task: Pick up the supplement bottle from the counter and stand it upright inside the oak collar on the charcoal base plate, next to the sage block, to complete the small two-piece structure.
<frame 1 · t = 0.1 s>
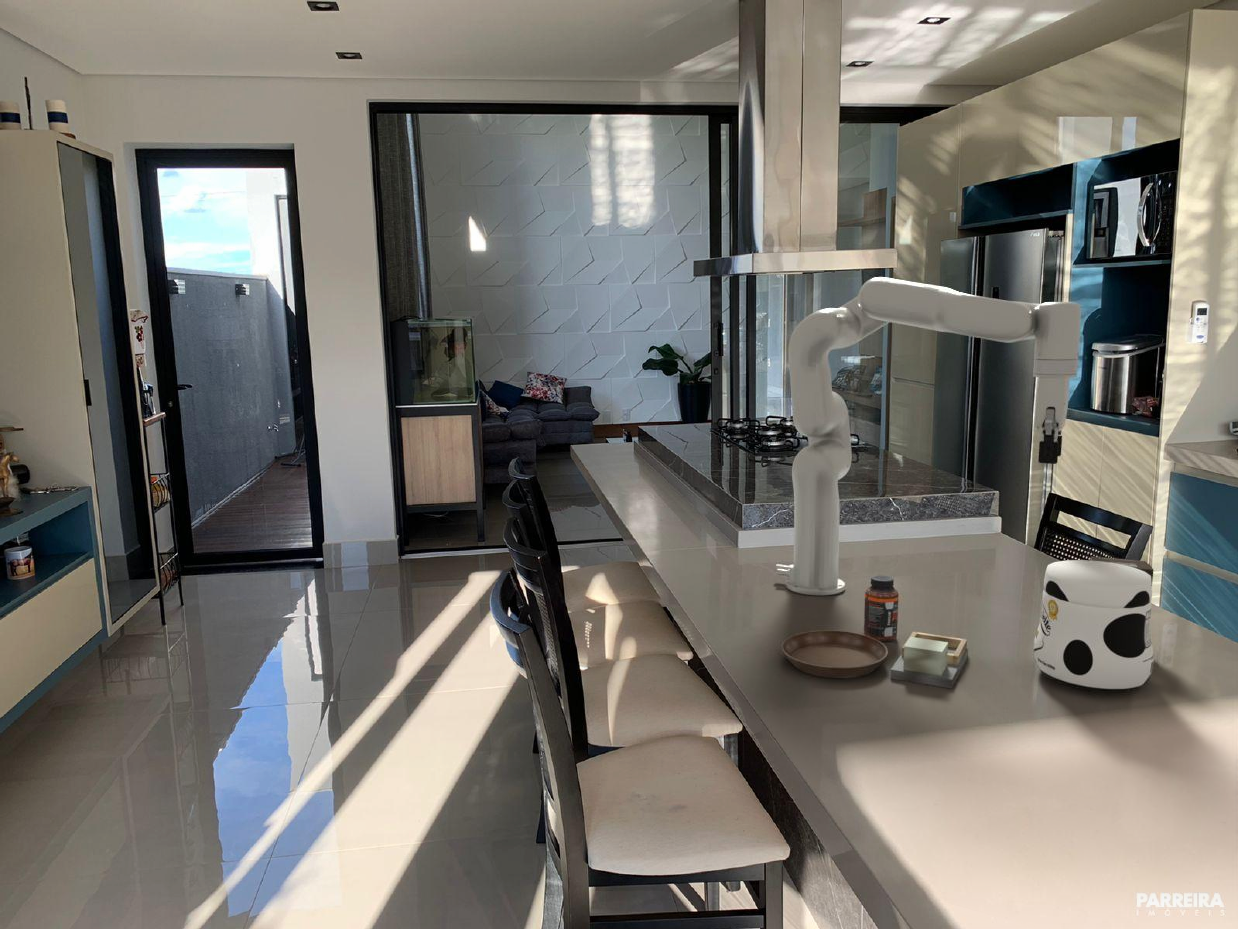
hand: (1049, 459, 179), 31 cm above the worktop, tool pointing down, fingers open, 9 cm apart
plant saucer: (833, 665, 162), on the worktop
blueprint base: (930, 666, 159), on the worktop
milk container: (1090, 680, 153), on the worktop
supplement bottle: (880, 638, 174), on the worktop
coffee box: (1113, 652, 165), on the worktop
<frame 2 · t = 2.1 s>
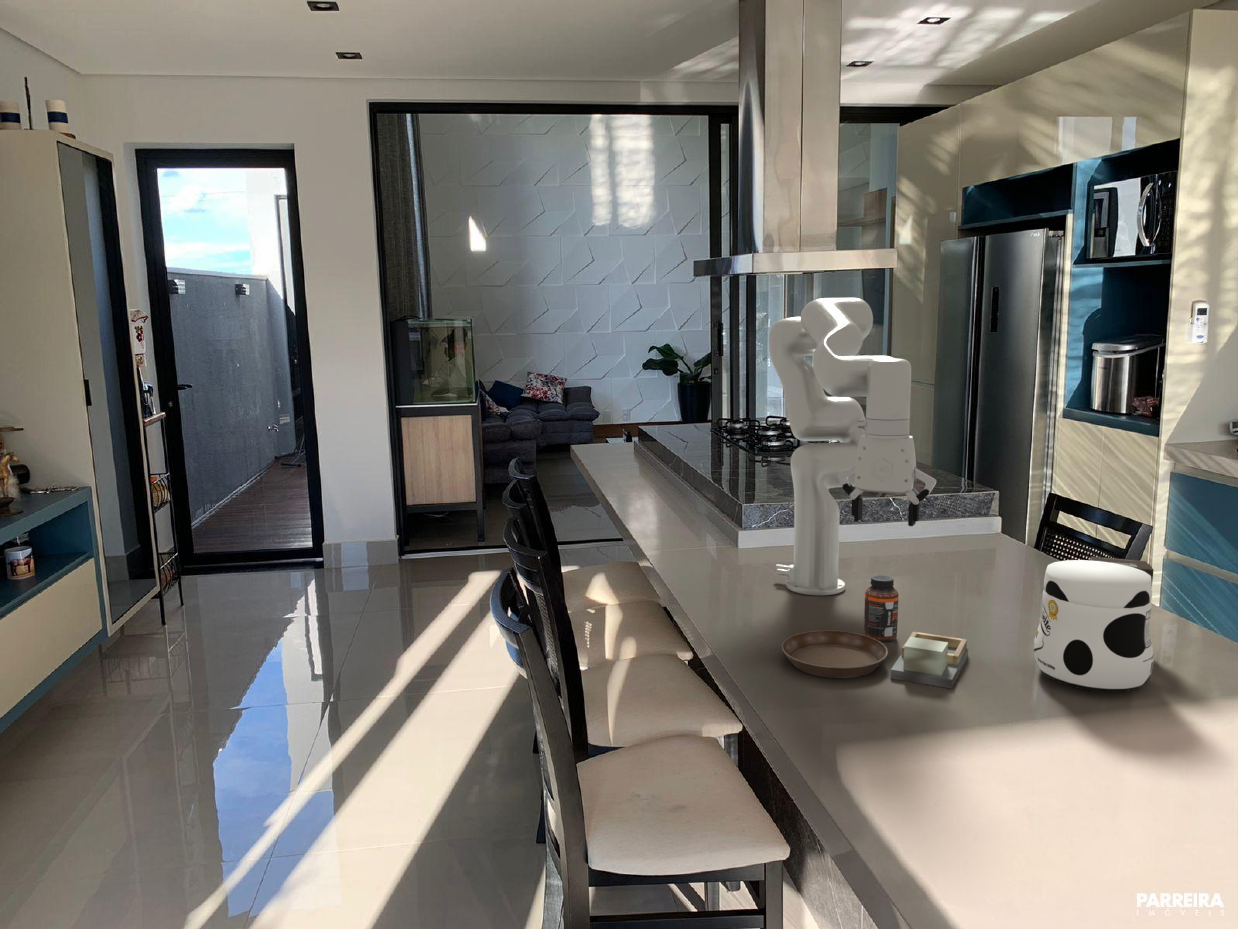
hand: (884, 522, 170), 22 cm above the worktop, tool pointing down, fingers open, 9 cm apart
nothing on the worktop moved.
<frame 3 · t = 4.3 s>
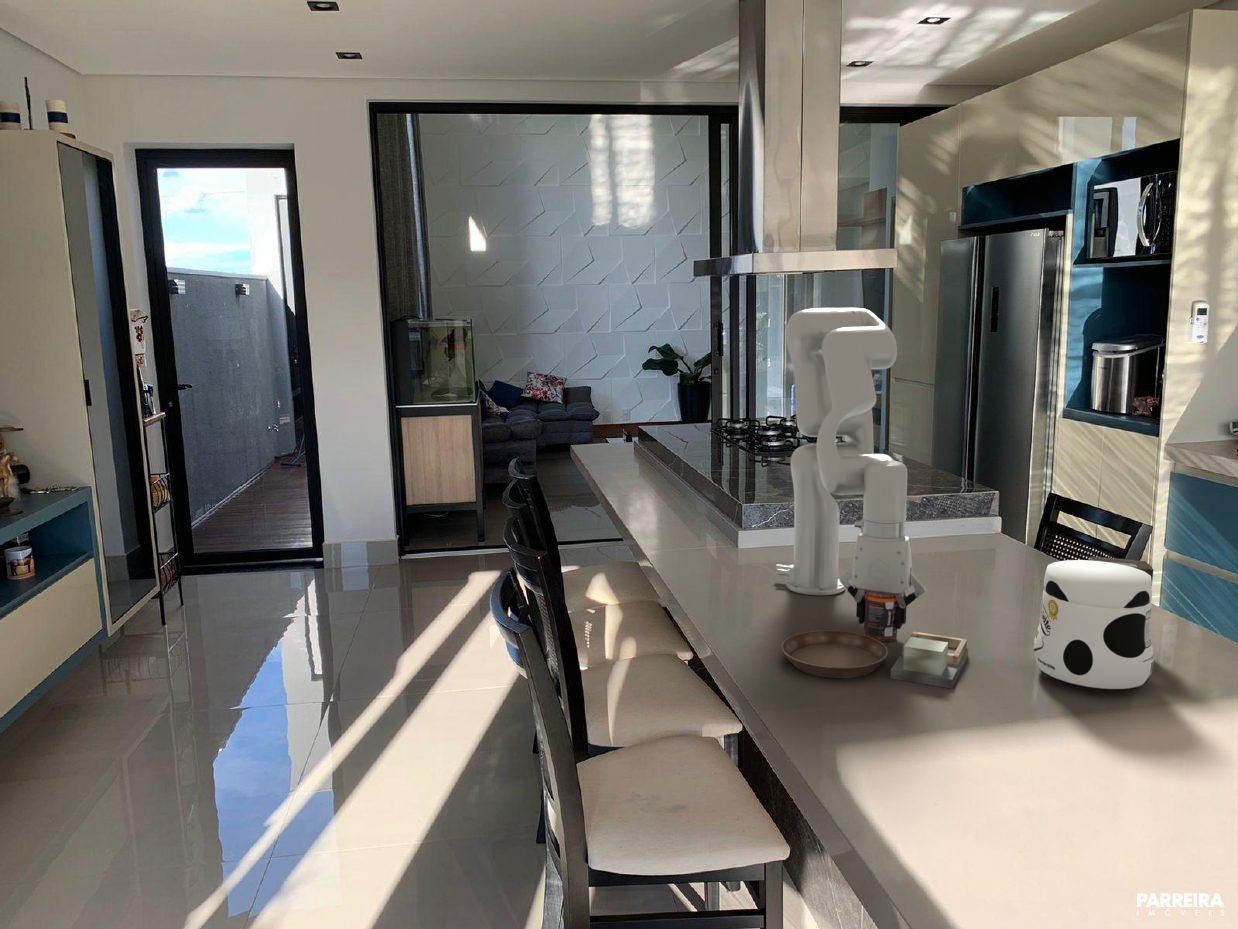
hand: (880, 623, 173), 3 cm above the worktop, tool pointing down, fingers closed on supplement bottle, 6 cm apart
supplement bottle: (880, 638, 174), on the worktop, touching gripper
everything else where it was.
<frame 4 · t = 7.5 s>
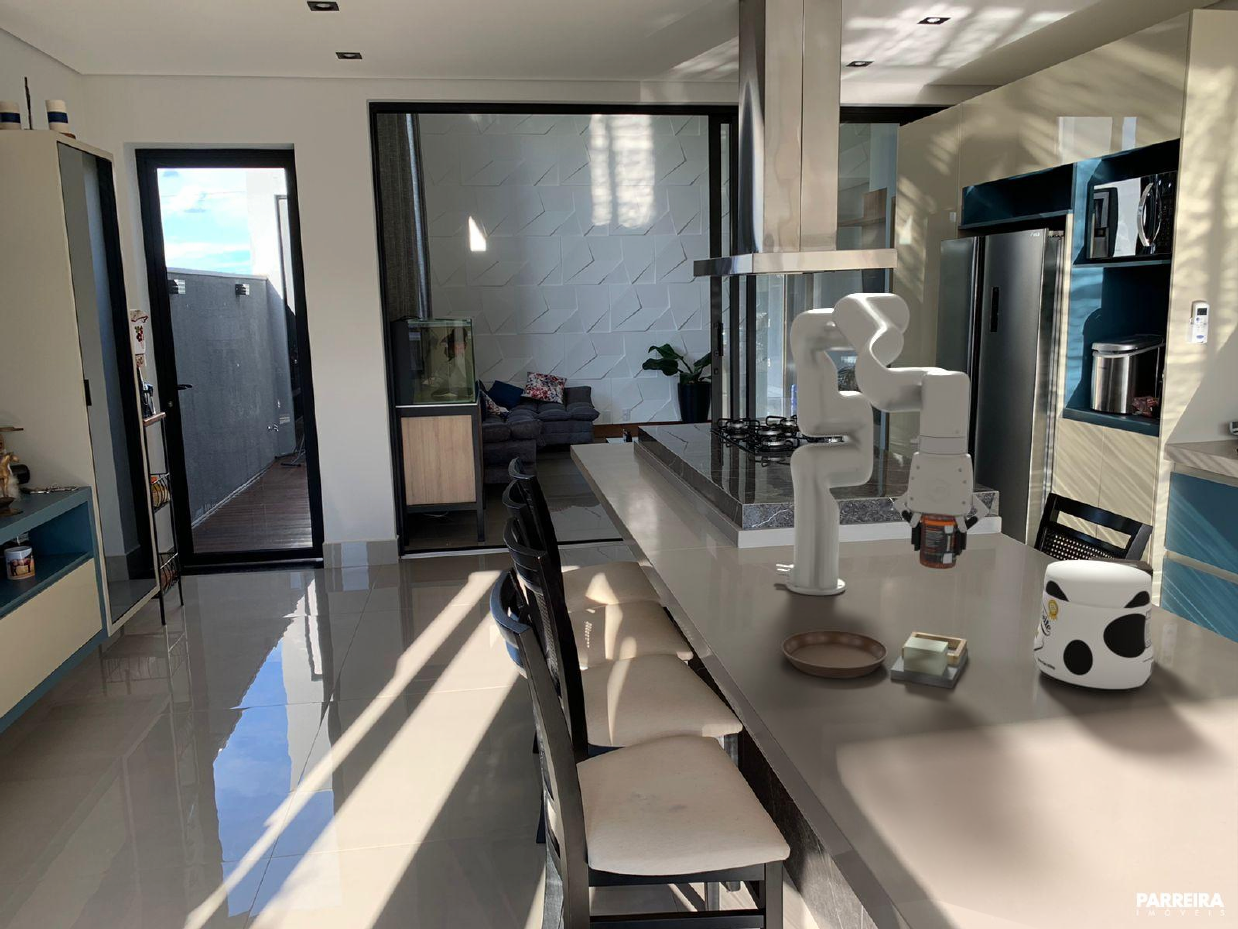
hand: (938, 550, 159), 19 cm above the worktop, tool pointing down, fingers closed on supplement bottle, 6 cm apart
supplement bottle: (937, 566, 160), point 17 cm above the worktop, touching gripper
everything else where it was.
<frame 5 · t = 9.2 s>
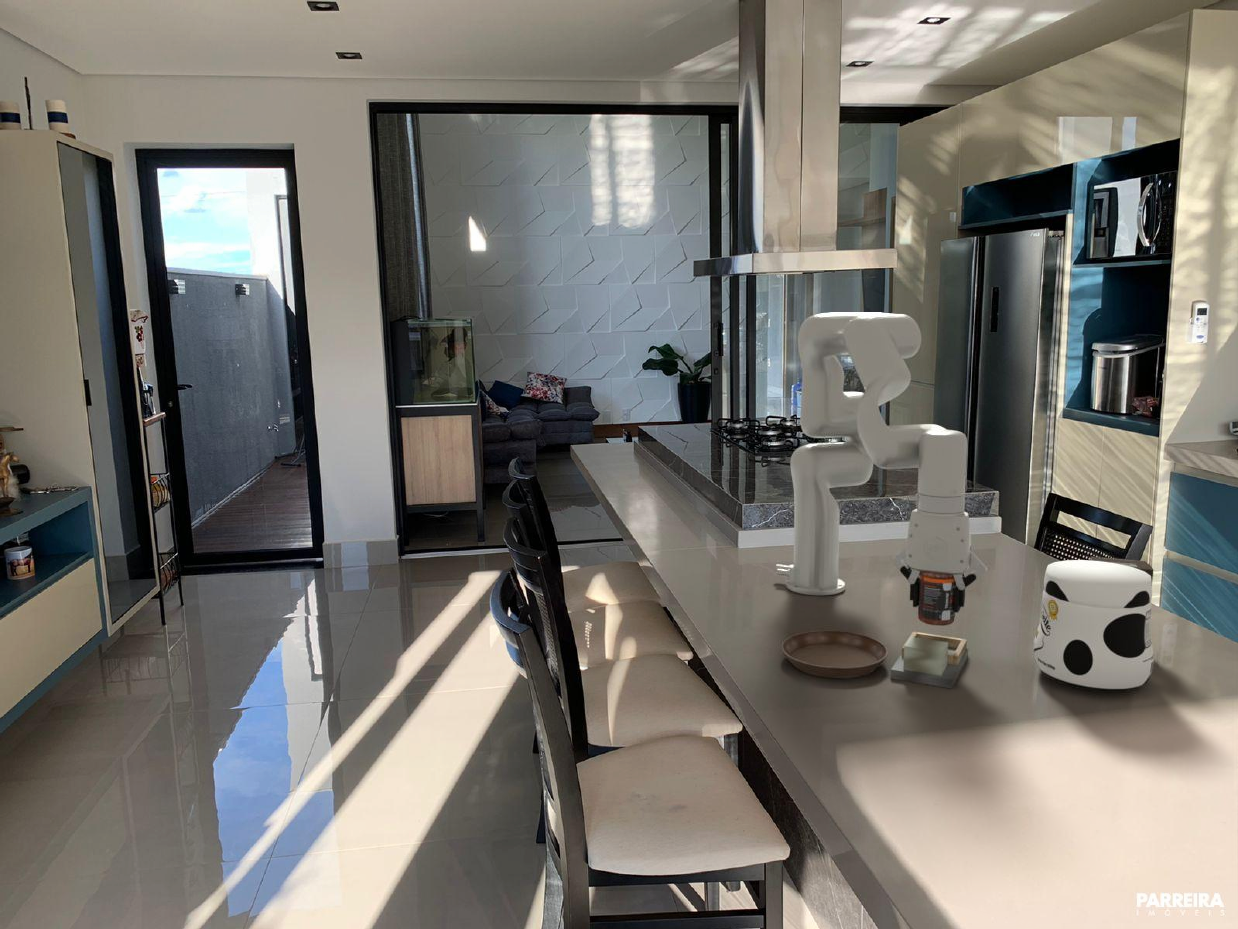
hand: (936, 606, 160), 10 cm above the worktop, tool pointing down, fingers closed on supplement bottle, 6 cm apart
supplement bottle: (936, 622, 161), point 7 cm above the worktop, touching gripper
everything else where it was.
when the fingers open (5 cm above the worktop, at t = 10.5 s): supplement bottle drops 1 cm, resting on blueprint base.
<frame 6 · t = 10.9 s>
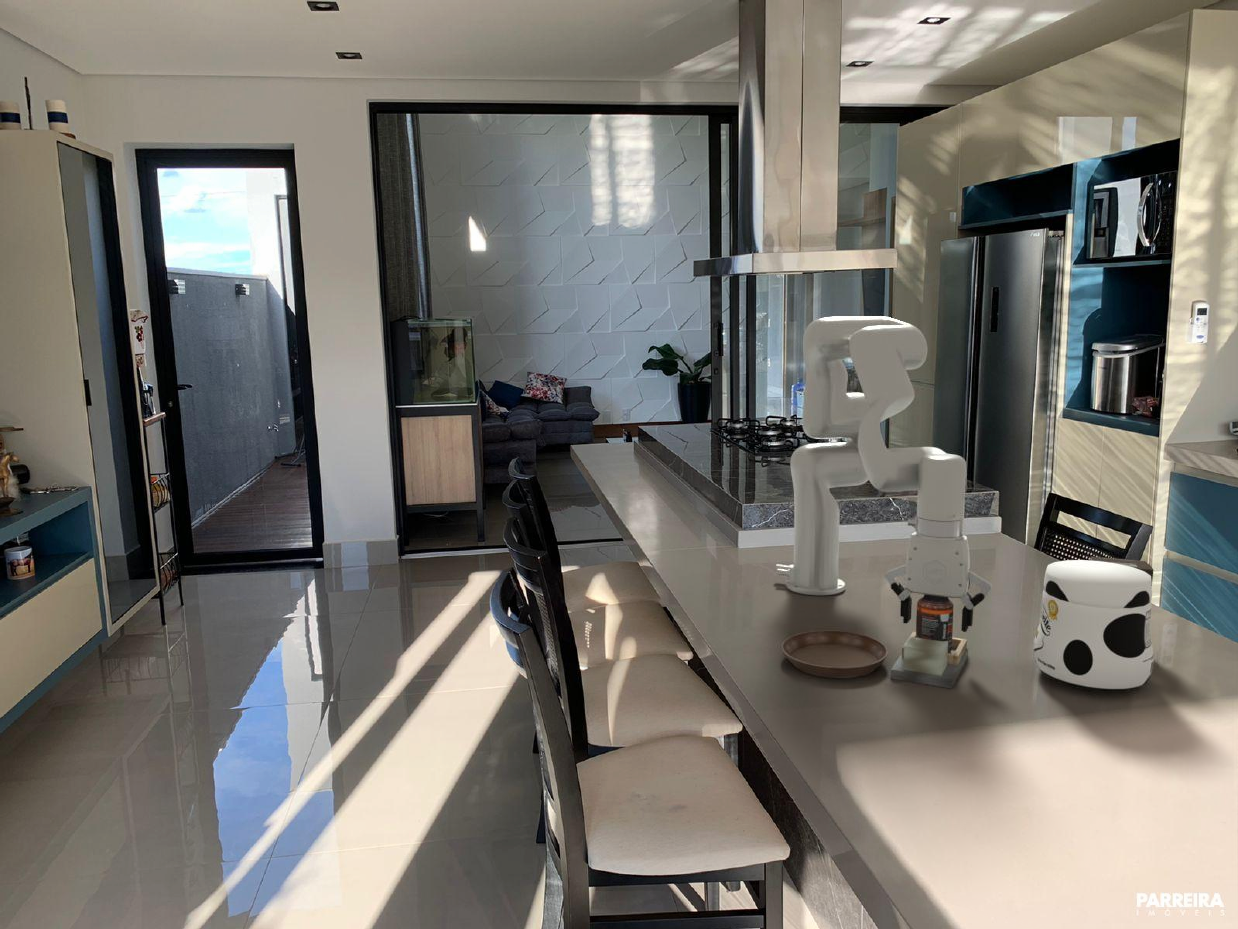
hand: (935, 625, 161), 6 cm above the worktop, tool pointing down, fingers open, 9 cm apart
supplement bottle: (933, 652, 162), point 1 cm above the worktop, touching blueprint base
everything else where it was.
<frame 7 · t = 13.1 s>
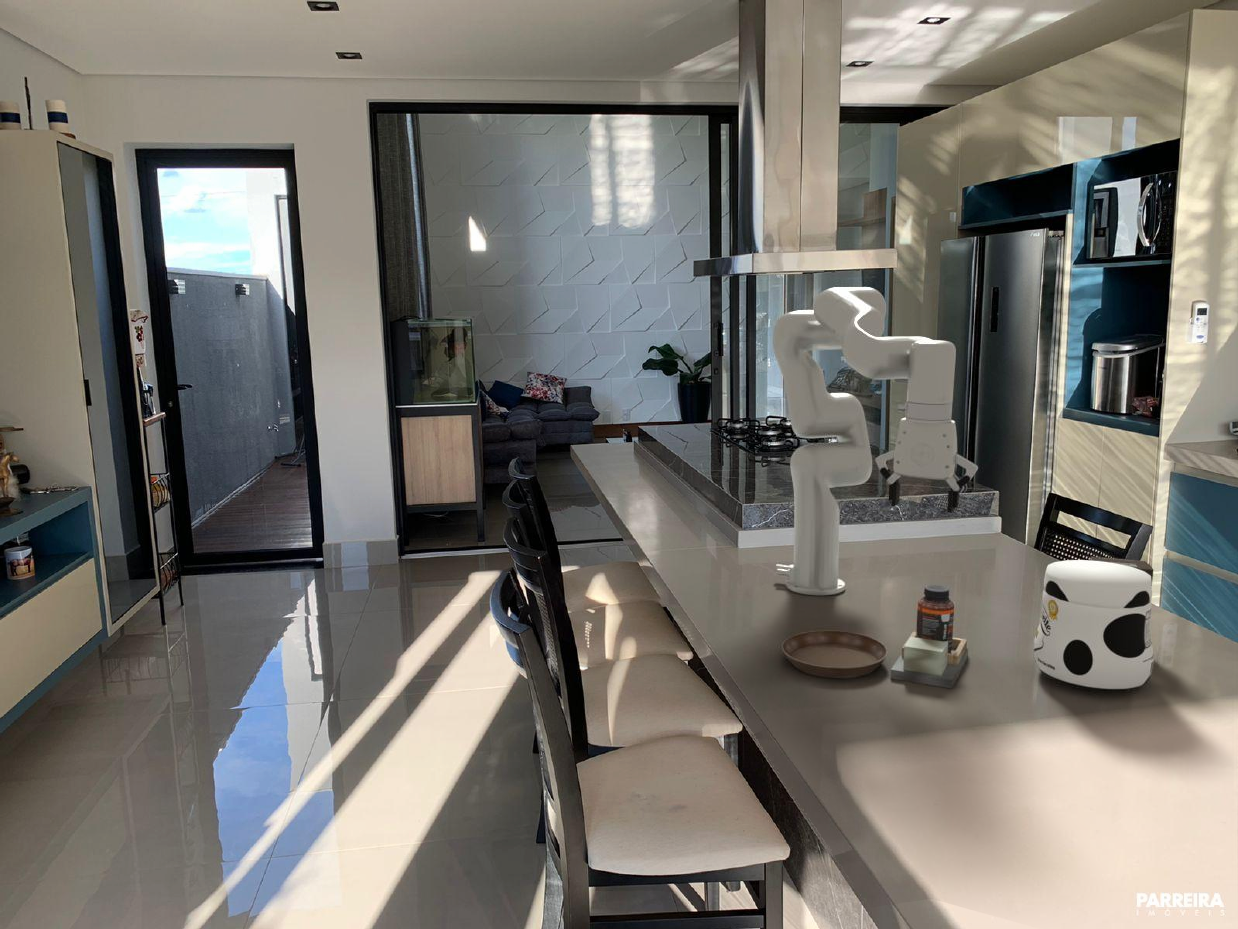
hand: (922, 508, 167), 25 cm above the worktop, tool pointing down, fingers open, 9 cm apart
nothing on the worktop moved.
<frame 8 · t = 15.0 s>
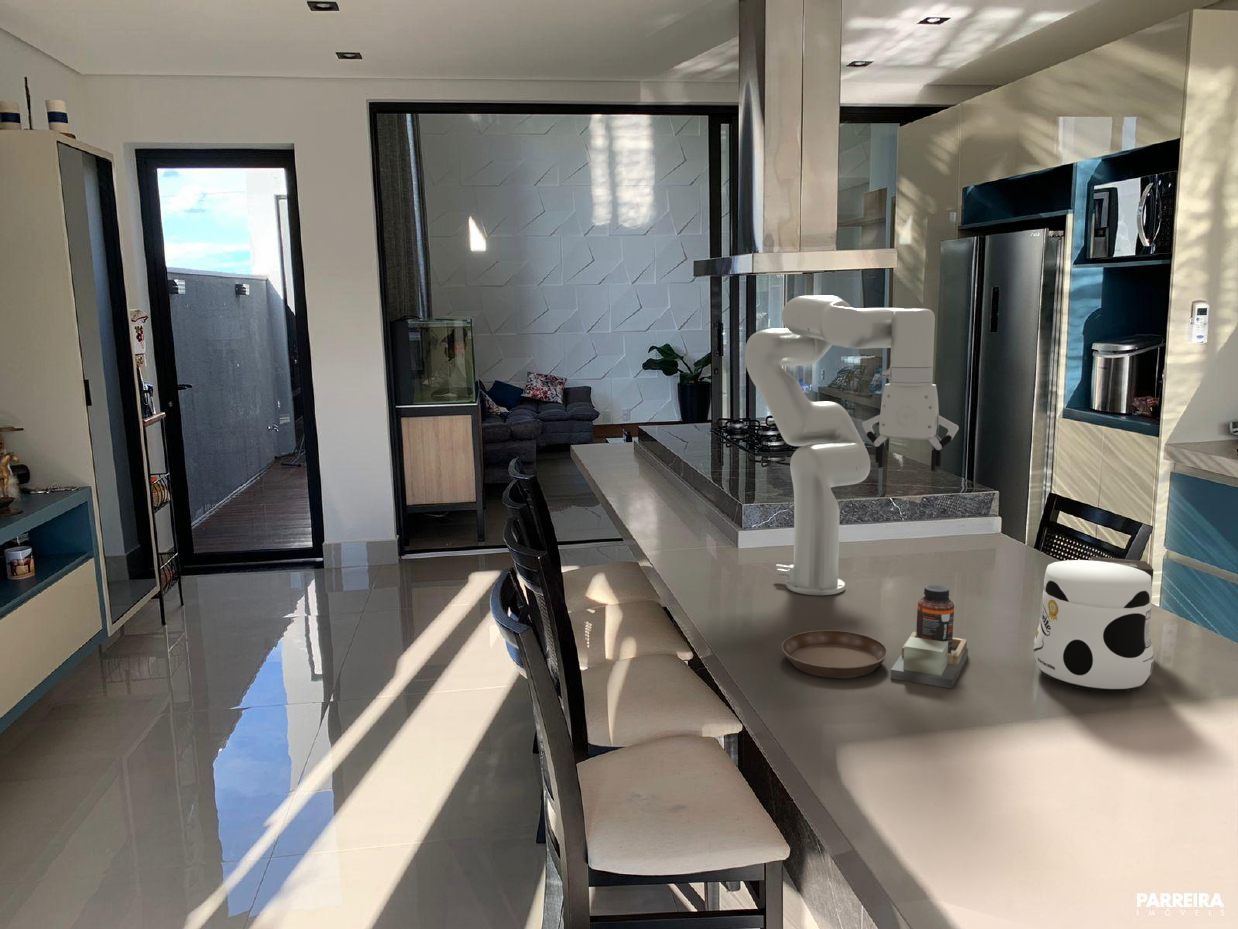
hand: (907, 468, 176), 30 cm above the worktop, tool pointing down, fingers open, 9 cm apart
nothing on the worktop moved.
at the end: supplement bottle 0.3 cm from the target spot on the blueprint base, point 1.3 cm above the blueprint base's base; supplement bottle tilted 0°; the gripper is holding nothing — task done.
